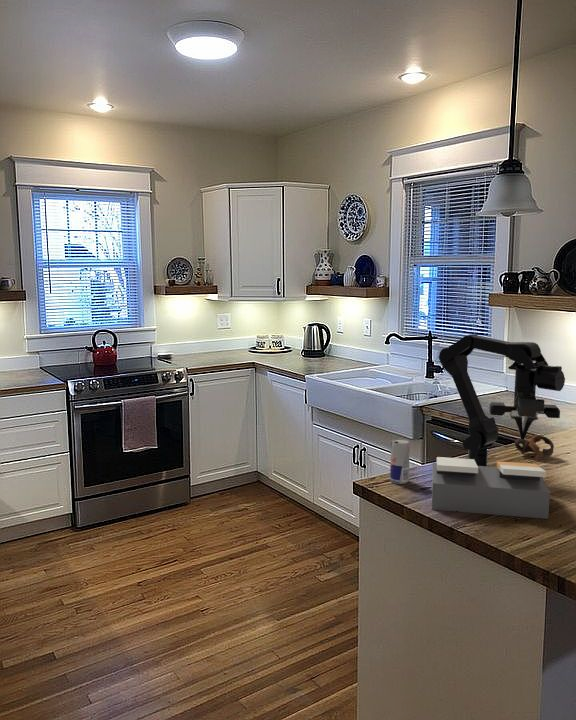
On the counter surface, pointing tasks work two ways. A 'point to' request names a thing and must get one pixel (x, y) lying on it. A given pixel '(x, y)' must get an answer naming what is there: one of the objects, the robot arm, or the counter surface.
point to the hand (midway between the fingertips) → (522, 438)
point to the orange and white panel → (521, 469)
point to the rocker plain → (456, 465)
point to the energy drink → (399, 461)
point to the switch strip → (490, 493)
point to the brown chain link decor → (535, 446)
